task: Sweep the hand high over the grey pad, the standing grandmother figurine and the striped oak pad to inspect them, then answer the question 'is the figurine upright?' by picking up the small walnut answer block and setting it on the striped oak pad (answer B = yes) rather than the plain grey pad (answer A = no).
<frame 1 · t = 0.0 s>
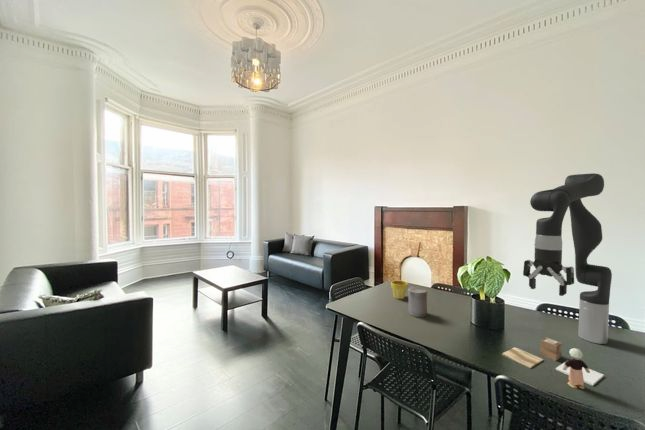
hand: (546, 291, 97), 29 cm above the table, fingers open, 8 cm apart
pillar candle: (417, 314, 149), on the table
pad b: (522, 357, 107), on the table
answer block: (550, 356, 108), on the table
grandmother figurine: (574, 386, 90), on the table
pad a: (579, 372, 97), on the table
plant pot: (399, 297, 175), on the table
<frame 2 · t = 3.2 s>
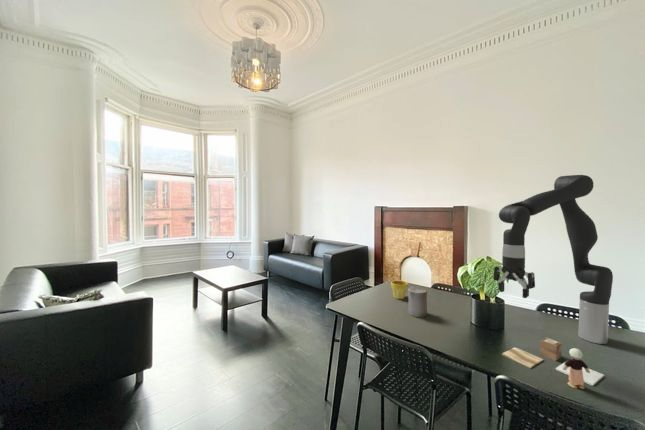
hand: (513, 294, 110), 24 cm above the table, fingers open, 8 cm apart
nothing on the table moved.
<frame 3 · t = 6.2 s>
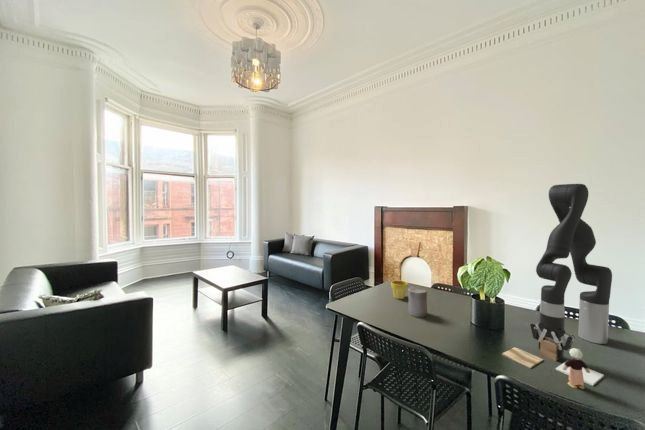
hand: (550, 354, 108), 1 cm above the table, fingers closed on answer block, 5 cm apart
answer block: (550, 356, 108), on the table, touching gripper
everything else where it was.
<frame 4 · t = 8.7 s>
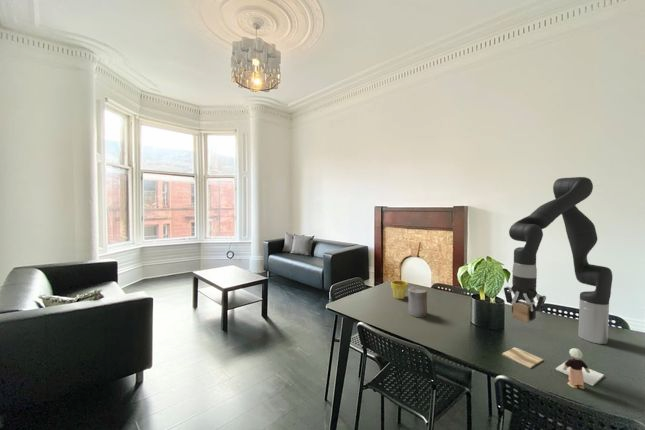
hand: (523, 316, 106), 16 cm above the table, fingers closed on answer block, 5 cm apart
answer block: (523, 318, 106), point 16 cm above the table, touching gripper
everything else where it was.
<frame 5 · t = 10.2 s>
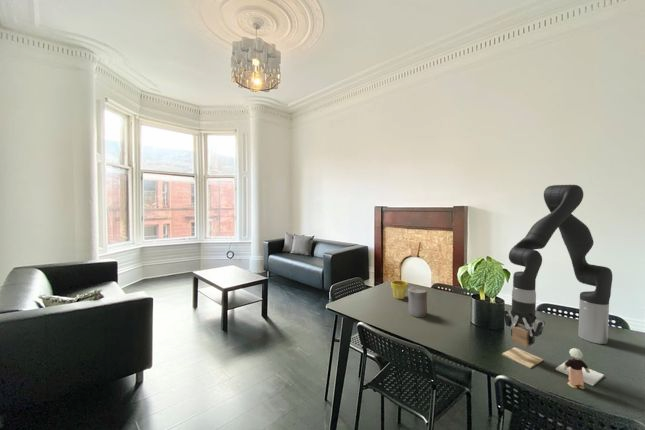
hand: (522, 340, 106), 7 cm above the table, fingers closed on answer block, 5 cm apart
answer block: (522, 342, 106), point 6 cm above the table, touching gripper
everything else where it was.
when the fingers open (3 cm above the table, at t = 11.5 s): answer block drops 2 cm, resting on pad b.
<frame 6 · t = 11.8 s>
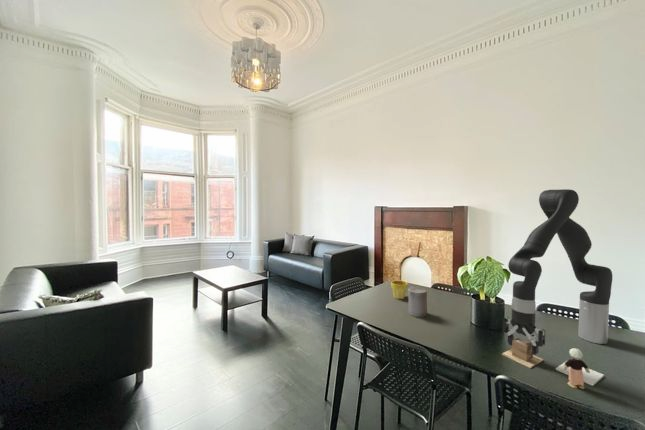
hand: (522, 349, 107), 3 cm above the table, fingers open, 7 cm apart
answer block: (522, 356, 107), resting on pad b
everything else where it was.
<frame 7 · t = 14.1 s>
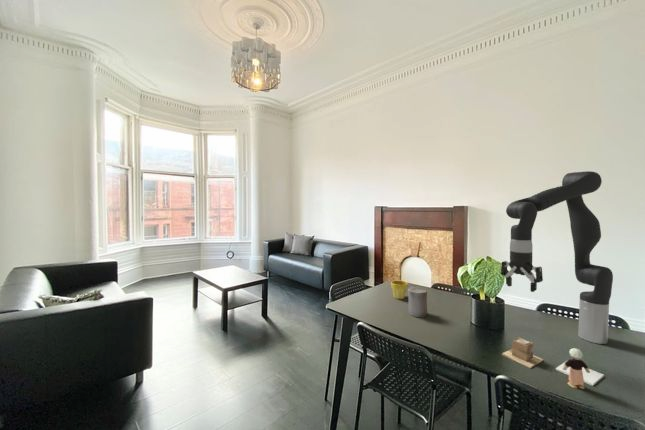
hand: (520, 288, 112), 26 cm above the table, fingers open, 8 cm apart
nothing on the table moved.
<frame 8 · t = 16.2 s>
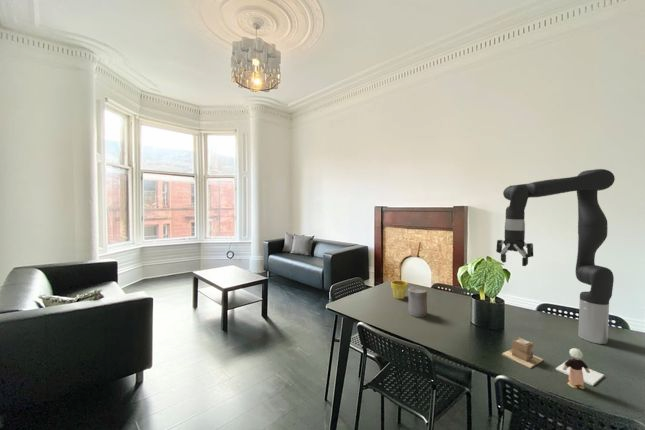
hand: (513, 263, 124), 33 cm above the table, fingers open, 8 cm apart
nothing on the table moved.
at the end: answer block inside the target area on the pad b (0.1 cm from its centre), point 0.5 cm above the pad b's base; answer block tilted 0°; the gripper is holding nothing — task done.
